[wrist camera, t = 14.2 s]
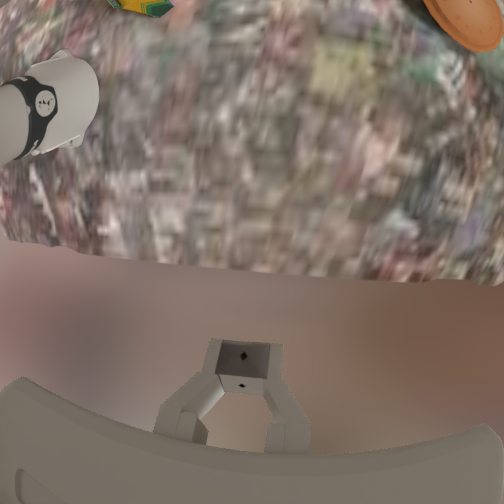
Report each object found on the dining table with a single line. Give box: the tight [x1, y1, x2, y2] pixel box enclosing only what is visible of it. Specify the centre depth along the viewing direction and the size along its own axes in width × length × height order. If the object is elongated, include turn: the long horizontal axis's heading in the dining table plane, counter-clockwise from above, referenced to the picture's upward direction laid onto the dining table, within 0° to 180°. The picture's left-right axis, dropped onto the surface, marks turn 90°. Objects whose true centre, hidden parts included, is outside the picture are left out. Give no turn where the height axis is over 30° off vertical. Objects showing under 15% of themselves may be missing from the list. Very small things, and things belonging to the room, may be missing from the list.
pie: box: [423, 0, 504, 52], centre depth 14 cm, size 15×16×5 cm
